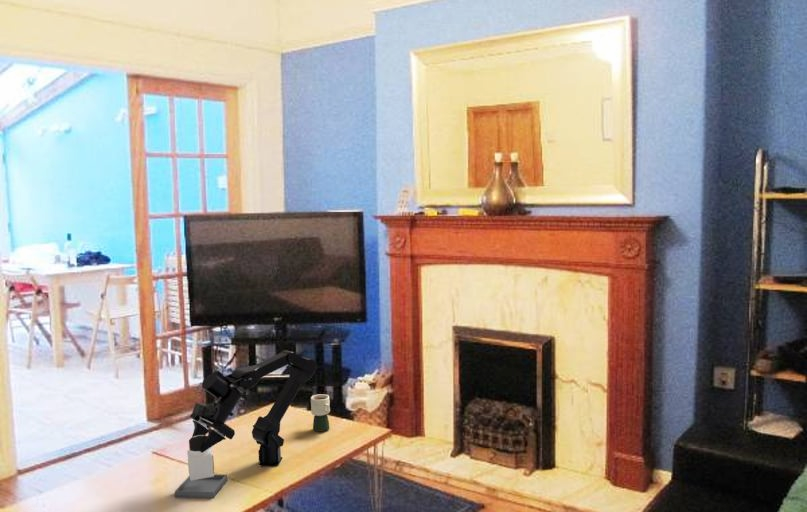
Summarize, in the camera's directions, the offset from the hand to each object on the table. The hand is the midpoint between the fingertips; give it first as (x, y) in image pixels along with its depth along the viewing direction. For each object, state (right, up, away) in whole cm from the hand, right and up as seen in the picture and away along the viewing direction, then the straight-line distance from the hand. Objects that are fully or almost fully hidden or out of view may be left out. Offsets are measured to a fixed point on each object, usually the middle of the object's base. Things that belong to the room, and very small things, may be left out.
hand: (195, 449), depth 202 cm
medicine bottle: (+1, -9, +2) cm, 9 cm away
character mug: (+32, -7, +49) cm, 60 cm away
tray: (+1, -13, +2) cm, 13 cm away
